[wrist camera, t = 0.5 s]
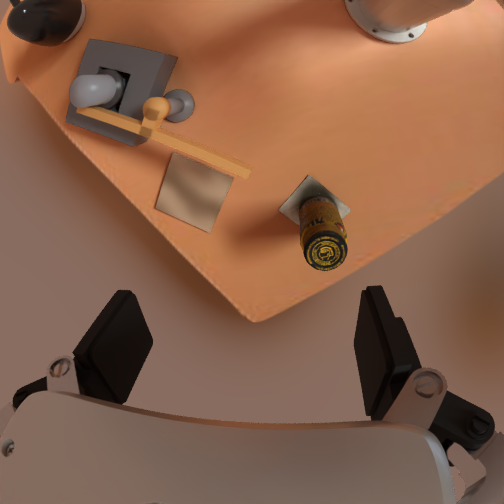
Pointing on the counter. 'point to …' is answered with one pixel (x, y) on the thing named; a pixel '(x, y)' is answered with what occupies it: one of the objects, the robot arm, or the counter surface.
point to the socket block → (131, 87)
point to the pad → (193, 192)
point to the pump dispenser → (46, 20)
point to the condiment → (318, 224)
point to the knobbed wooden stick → (166, 133)
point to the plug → (98, 89)
